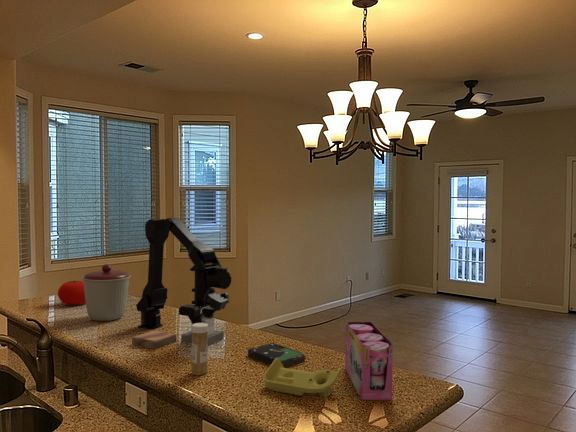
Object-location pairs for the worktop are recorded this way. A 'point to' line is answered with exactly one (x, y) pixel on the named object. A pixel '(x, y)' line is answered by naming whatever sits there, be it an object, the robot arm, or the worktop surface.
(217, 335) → the slate stand
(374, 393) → the gum box
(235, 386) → the worktop surface
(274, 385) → the plastic component
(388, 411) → the worktop surface
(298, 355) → the disk drive
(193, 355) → the sprinkles bottle
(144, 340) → the brown square tray
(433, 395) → the worktop surface
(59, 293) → the tomato
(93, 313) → the canister
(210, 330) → the two-plate housing
